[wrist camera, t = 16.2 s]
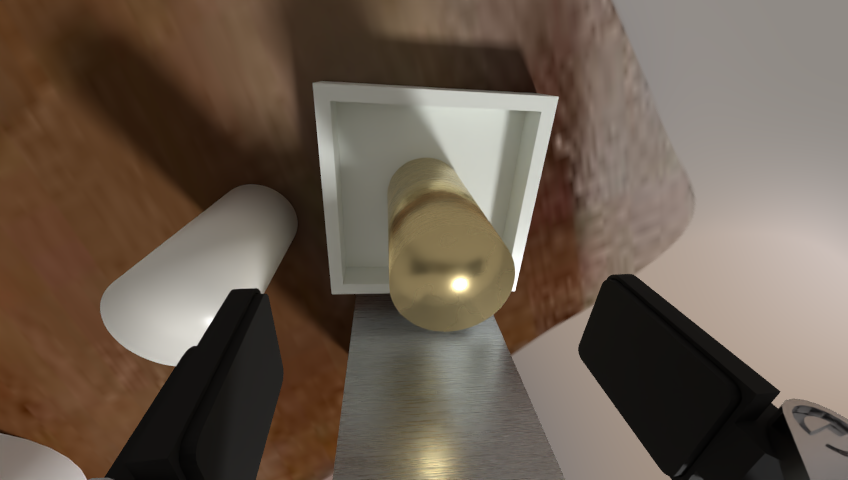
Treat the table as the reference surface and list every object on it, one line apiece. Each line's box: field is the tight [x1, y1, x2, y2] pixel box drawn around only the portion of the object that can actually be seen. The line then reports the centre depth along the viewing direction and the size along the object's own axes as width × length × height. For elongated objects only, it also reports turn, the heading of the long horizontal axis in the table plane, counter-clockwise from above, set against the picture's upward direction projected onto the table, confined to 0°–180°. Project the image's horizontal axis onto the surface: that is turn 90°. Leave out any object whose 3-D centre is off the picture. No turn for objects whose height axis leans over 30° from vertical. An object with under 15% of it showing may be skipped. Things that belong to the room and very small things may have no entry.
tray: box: [313, 81, 559, 294], centre depth 19 cm, size 11×11×2 cm
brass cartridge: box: [387, 158, 515, 332], centre depth 15 cm, size 4×4×9 cm
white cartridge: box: [100, 184, 298, 366], centre depth 16 cm, size 4×4×9 cm
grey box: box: [333, 293, 565, 480], centre depth 19 cm, size 7×9×13 cm
